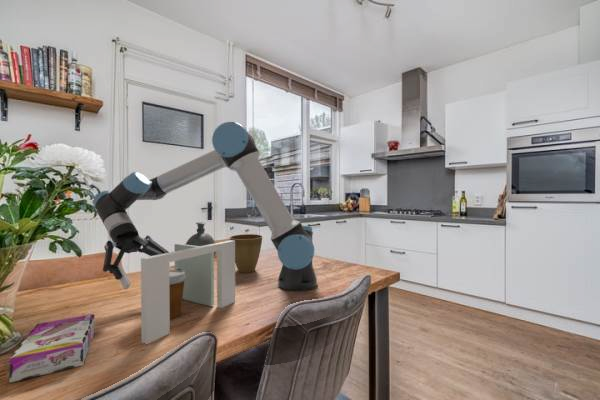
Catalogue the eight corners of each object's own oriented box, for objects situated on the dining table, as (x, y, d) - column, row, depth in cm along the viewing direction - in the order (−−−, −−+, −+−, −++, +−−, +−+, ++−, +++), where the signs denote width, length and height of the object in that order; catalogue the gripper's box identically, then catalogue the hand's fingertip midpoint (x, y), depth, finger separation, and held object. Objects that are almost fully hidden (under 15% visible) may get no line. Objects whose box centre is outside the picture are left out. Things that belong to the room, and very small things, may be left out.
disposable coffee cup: (171, 323, 75) (171, 278, 75) (142, 320, 77) (142, 276, 77) (193, 310, 84) (193, 270, 84) (166, 307, 86) (166, 268, 87)
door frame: (230, 300, 92) (230, 240, 92) (235, 301, 91) (235, 240, 91) (141, 342, 66) (140, 258, 65) (146, 344, 65) (146, 259, 64)
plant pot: (232, 267, 135) (231, 234, 135) (262, 266, 137) (262, 233, 136) (227, 275, 120) (227, 239, 120) (262, 274, 122) (262, 238, 122)
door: (215, 304, 88) (215, 247, 88) (209, 307, 86) (209, 249, 85) (179, 295, 96) (179, 243, 96) (172, 297, 94) (172, 244, 93)
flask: (222, 267, 135) (222, 222, 134) (187, 274, 123) (187, 224, 123) (212, 263, 143) (211, 220, 143) (178, 269, 131) (177, 222, 131)
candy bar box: (94, 312, 71) (84, 342, 56) (94, 331, 71) (84, 366, 57) (35, 322, 65) (7, 358, 51) (35, 343, 65) (8, 385, 51)
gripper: (152, 232, 105) (179, 277, 98) (73, 242, 83) (101, 300, 76) (160, 218, 102) (189, 263, 95) (81, 225, 81) (111, 284, 74)
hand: (150, 280), depth 86 cm, fingers open, 13 cm apart
